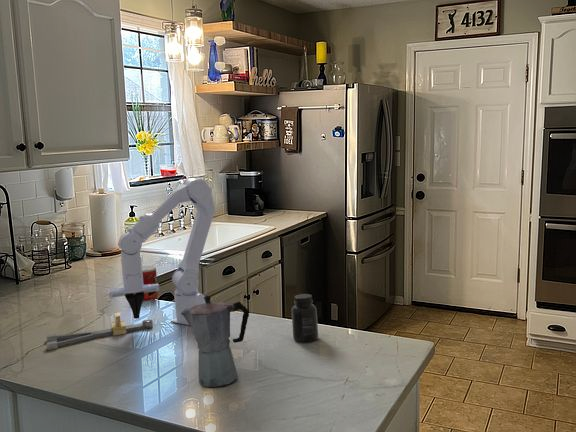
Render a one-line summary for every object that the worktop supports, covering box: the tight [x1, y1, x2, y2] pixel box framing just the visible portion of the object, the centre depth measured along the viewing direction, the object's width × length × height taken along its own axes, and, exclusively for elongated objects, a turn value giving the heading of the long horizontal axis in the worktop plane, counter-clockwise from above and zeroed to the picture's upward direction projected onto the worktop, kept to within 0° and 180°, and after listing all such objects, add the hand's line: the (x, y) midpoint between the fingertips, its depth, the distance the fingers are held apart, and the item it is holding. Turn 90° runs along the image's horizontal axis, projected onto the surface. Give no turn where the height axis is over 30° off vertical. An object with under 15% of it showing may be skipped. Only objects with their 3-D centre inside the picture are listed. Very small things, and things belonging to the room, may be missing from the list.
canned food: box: [142, 265, 159, 302], centre depth 205 cm, size 8×8×11 cm
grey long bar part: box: [46, 318, 154, 351], centre depth 167 cm, size 30×9×2 cm, turn 113°
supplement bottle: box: [291, 293, 319, 344], centre depth 154 cm, size 7×7×12 cm
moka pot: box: [181, 295, 250, 388], centre depth 130 cm, size 10×15×20 cm, turn 95°
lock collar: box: [110, 312, 127, 337], centre depth 168 cm, size 4×5×5 cm, turn 23°
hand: (136, 317), depth 170 cm, fingers closed
